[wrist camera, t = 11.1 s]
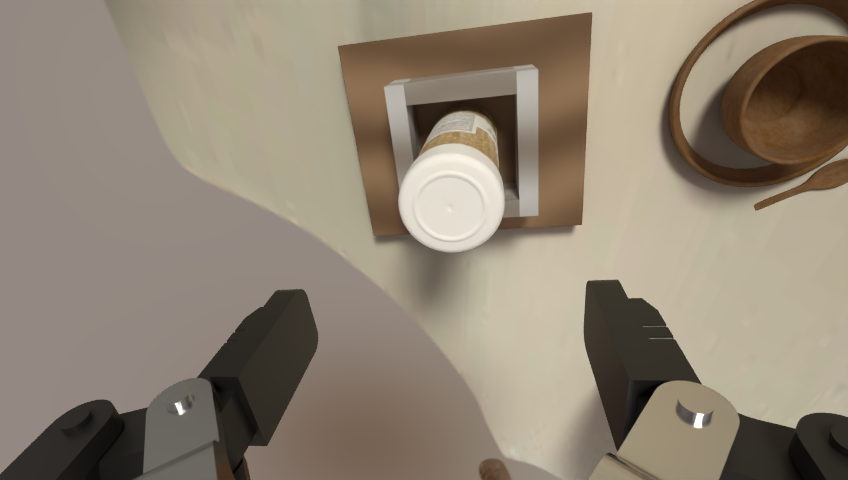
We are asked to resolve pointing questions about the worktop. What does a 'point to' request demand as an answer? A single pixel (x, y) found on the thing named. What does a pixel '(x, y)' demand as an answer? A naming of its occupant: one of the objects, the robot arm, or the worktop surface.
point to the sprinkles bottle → (455, 183)
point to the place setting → (780, 107)
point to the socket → (487, 88)
